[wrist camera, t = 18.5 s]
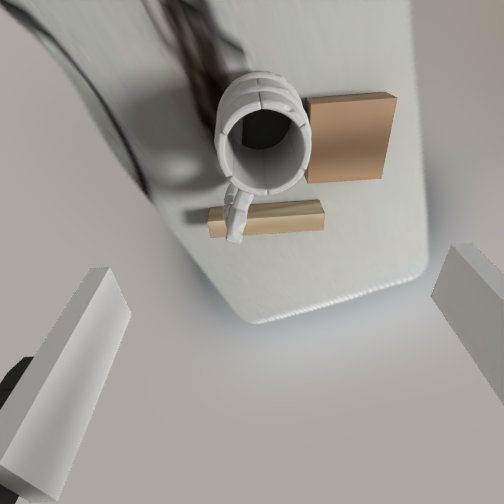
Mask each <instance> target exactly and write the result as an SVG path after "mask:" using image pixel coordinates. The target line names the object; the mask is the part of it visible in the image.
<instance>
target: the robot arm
mask: <svg viewBox="0 0 504 504" xmlns="http://www.w3.org/2000/svg"><path fill="white" fill-rule="evenodd" d="M431 297H432V298H433V300H434V302H435V303H436V305H437V306H438V308H439V309H440V310H441V312H442V313H443V315H444V317H445V318H446V320H447V321H448V322H449V324H450V326H451V327H452V329H453V330H454V332H455V333H456V335H457V336H458V338H459V339H460V341H461V342H462V344H463V345H464V347H465V348H466V350H467V351H468V353H469V354H470V355H471V357H472V358H473V360H474V361H475V363H476V364H477V366H478V367H479V369H480V370H481V372H482V373H483V375H484V376H485V378H486V379H487V381H488V382H489V384H490V385H491V387H492V388H493V390H494V391H495V393H496V394H497V396H498V397H499V399H500V400H501V402H502V403H503V405H504V274H503V273H502V272H501V271H500V270H499V269H498V268H497V267H496V266H495V265H494V264H493V263H492V262H491V261H490V260H489V259H488V258H487V257H486V256H485V255H484V254H483V253H482V252H481V251H480V250H479V249H478V248H476V246H475V245H473V243H464V244H452V245H451V247H450V249H449V251H448V254H447V256H446V259H445V262H444V264H443V266H442V269H441V272H440V274H439V277H438V279H437V282H436V284H435V287H434V289H433V292H432V294H431ZM131 315H132V314H131V312H130V309H129V308H128V305H127V303H126V301H125V299H124V297H123V295H122V292H121V290H120V288H119V286H118V284H117V282H116V280H115V278H114V275H113V273H112V271H111V269H110V267H104V268H91V269H90V270H89V272H88V273H87V275H86V276H85V278H84V280H83V281H82V283H81V284H80V286H79V288H78V289H77V291H76V292H75V294H74V295H73V297H72V298H71V300H70V302H69V303H68V305H67V306H66V308H65V309H64V311H63V312H62V314H61V316H60V317H59V319H58V321H57V322H56V323H55V325H54V327H53V328H52V330H51V331H50V333H49V334H48V336H47V338H46V339H45V341H44V342H43V344H42V346H41V347H40V349H39V350H38V352H37V353H36V355H35V356H34V357H24V358H23V359H22V360H21V361H20V362H19V363H17V365H15V366H14V367H13V368H12V369H11V370H10V371H9V372H8V373H7V374H6V376H5V377H4V379H3V380H2V382H1V383H0V504H15V503H16V501H17V499H18V497H19V496H20V497H22V498H24V499H25V500H27V501H29V502H52V501H58V499H59V497H60V494H61V491H62V489H63V487H64V484H65V482H66V479H67V477H68V474H69V472H70V469H71V466H72V464H73V461H74V459H75V456H76V454H77V451H78V449H79V446H80V444H81V441H82V438H83V436H84V434H85V431H86V429H87V426H88V423H89V421H90V418H91V416H92V413H93V411H94V408H95V406H96V403H97V401H98V398H99V396H100V393H101V391H102V388H103V386H104V383H105V381H106V378H107V375H108V373H109V370H110V368H111V365H112V363H113V360H114V358H115V355H116V353H117V350H118V347H119V345H120V343H121V340H122V338H123V335H124V332H125V330H126V328H127V325H128V322H129V320H130V317H131Z"/></svg>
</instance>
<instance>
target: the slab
mask: <svg viewBox="0 0 504 504" xmlns="http://www.w3.org/2000/svg"><path fill="white" fill-rule="evenodd" d="M396 102H397V97H395V96H393V95H391V94H389V93H387V92H378V93H365V94H352V95H339V96H326V97H313V98H306V114H307V117H308V120H309V124H310V128H311V132H312V135H311V154H310V160H309V163H308V166H307V169H306V170H304V175H305V178H306V180H307V183H308V184H309V183H323V182H338V181H353V180H367V179H381V177H382V172H383V167H384V162H385V157H386V152H387V147H388V142H389V137H390V132H391V127H392V122H393V117H394V112H395V107H396Z"/></svg>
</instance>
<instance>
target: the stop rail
mask: <svg viewBox="0 0 504 504" xmlns="http://www.w3.org/2000/svg"><path fill="white" fill-rule="evenodd" d="M223 208H224V207H212V208H210V211H209V216H208V221H207V222H208V228H209V233H210V238H215V237H226V233H227V227H226V225H225V221H224V217H223ZM324 218H325V213H324V210H323V208H322V205H321V203H320V200H308V201H295V202H281V203H267V204H254V205H250V206H249V208H248V213H247V220H246V225H245V227H244V230H243V233H242V235H243V236H244V235H258V234H273V233H287V232H301V231H316V230H324Z"/></svg>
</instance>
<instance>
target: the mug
mask: <svg viewBox="0 0 504 504" xmlns="http://www.w3.org/2000/svg"><path fill="white" fill-rule="evenodd" d="M260 109H268V110H274V111H277V112H280V113H282V114H284V115H286V116H287V117H288V118H289V119H290V120H291V125H290V127H289V130H288V132H287V133H286V135H285V137H284V138H283V139H282V140H281V141H280V142H279V143H278V144H276V145H275V146H273V147H270V148H267V149H263V150H256V149H250V148H248V147H245V146H244V145H242V128H243V116H245V115H246V114H248V113H251V112H253V111H257V110H260ZM311 135H312V132H311V128H310V124H309V120H308V117H307V114H306V112H305V110H304V108H303V105H302V102H301V99H300V97H299V95H298V93H297V91H296V90H295V88H294V87H293V85H292V84H291V83H289V82H288V81H287V80H286V79H285V78H284V77H283V76H281V75H277V74H275V73H272V72H267V71H255V72H250V73H247V74H245V75H242V76H241V77H239V78H236V79H235V80H234V81H233V82H232V83H231V84H230V85H229V86H228V88H227V89H226V90H225V92H224V94H223V95H222V98H221V100H220V102H219V105H218V110H217V121H216V128H215V139H214V143H215V147H216V150H217V157H218V161H219V164H220V167H221V170H222V172H223V173H224V175H225V176H226V177H228V180H229V181H230V182H231V184H230V185H229V187H228V189H227V192H226V195H225V199H224V203H225V205H224V208H223V217H224V221H225V225H226V227H227V233H226V241H228V242H231V243H235V244H241V242H242V237H243V235H242V233H243V230H244V227H245V225H246V220H247V213H248V208H249V206H250V204H251V202H252V199H253V198H254V195H260V196H264V195H267V193H268V195H272V194H276V193H280V192H282V191H284V190H286V189H288V188H290V187H291V186H293V185H294V184H295V183H296V182H297V181H298V180H299V179H300V178H301V177H302V175H303V174H304V170H306V169H307V166H308V163H309V160H310V154H311Z"/></svg>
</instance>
